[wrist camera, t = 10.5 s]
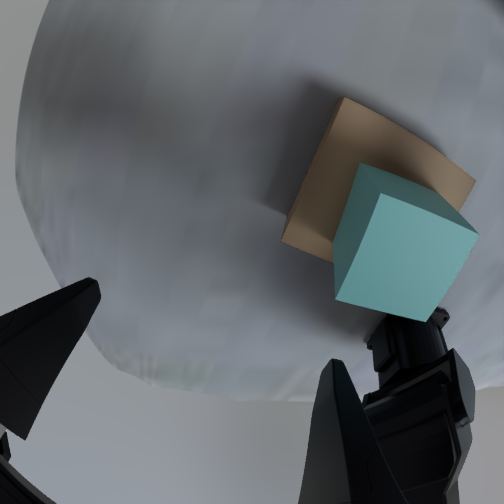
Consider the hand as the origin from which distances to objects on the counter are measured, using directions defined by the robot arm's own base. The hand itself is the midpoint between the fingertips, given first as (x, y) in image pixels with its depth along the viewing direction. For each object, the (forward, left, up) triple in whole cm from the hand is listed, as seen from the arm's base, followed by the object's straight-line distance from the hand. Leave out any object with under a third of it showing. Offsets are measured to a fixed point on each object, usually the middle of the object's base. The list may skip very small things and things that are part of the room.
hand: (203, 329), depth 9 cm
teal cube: (-7, -3, -8) cm, 11 cm away
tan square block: (-7, -3, -12) cm, 14 cm away
